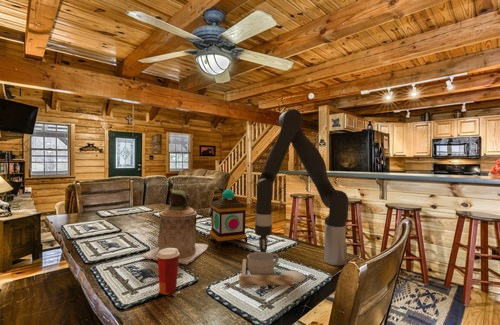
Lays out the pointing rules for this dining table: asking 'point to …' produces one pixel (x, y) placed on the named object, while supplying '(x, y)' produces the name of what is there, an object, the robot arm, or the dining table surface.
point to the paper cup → (168, 270)
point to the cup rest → (264, 278)
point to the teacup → (261, 263)
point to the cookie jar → (178, 229)
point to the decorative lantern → (228, 219)
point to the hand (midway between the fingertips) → (262, 262)
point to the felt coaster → (295, 276)
